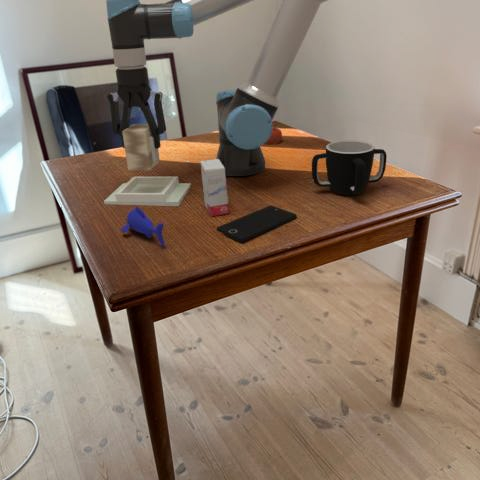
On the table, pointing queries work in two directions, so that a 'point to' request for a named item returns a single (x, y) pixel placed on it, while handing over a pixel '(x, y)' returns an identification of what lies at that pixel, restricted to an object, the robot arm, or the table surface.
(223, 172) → the ink box
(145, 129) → the tan wooden block
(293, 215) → the cell phone
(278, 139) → the apple
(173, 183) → the chassis bay
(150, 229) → the fish toy
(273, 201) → the table surface
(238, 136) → the robot arm
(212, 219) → the table surface
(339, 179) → the mug
